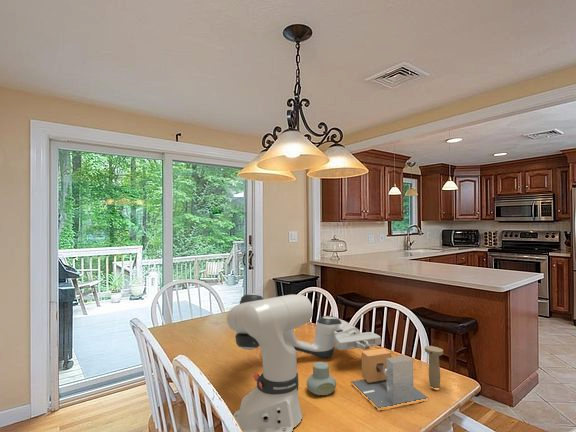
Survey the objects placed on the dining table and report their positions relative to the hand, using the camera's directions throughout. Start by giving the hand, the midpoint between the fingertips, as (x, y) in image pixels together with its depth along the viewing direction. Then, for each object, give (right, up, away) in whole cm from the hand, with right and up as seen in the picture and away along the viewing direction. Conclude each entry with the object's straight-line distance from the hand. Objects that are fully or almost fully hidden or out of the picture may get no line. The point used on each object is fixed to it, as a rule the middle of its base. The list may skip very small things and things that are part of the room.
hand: (367, 347), depth 135 cm
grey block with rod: (+5, -10, -15) cm, 19 cm away
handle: (+23, -11, -12) cm, 28 cm away
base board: (+4, -11, -14) cm, 18 cm away
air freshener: (-20, -12, -13) cm, 26 cm away
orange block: (+2, -9, -7) cm, 11 cm away
